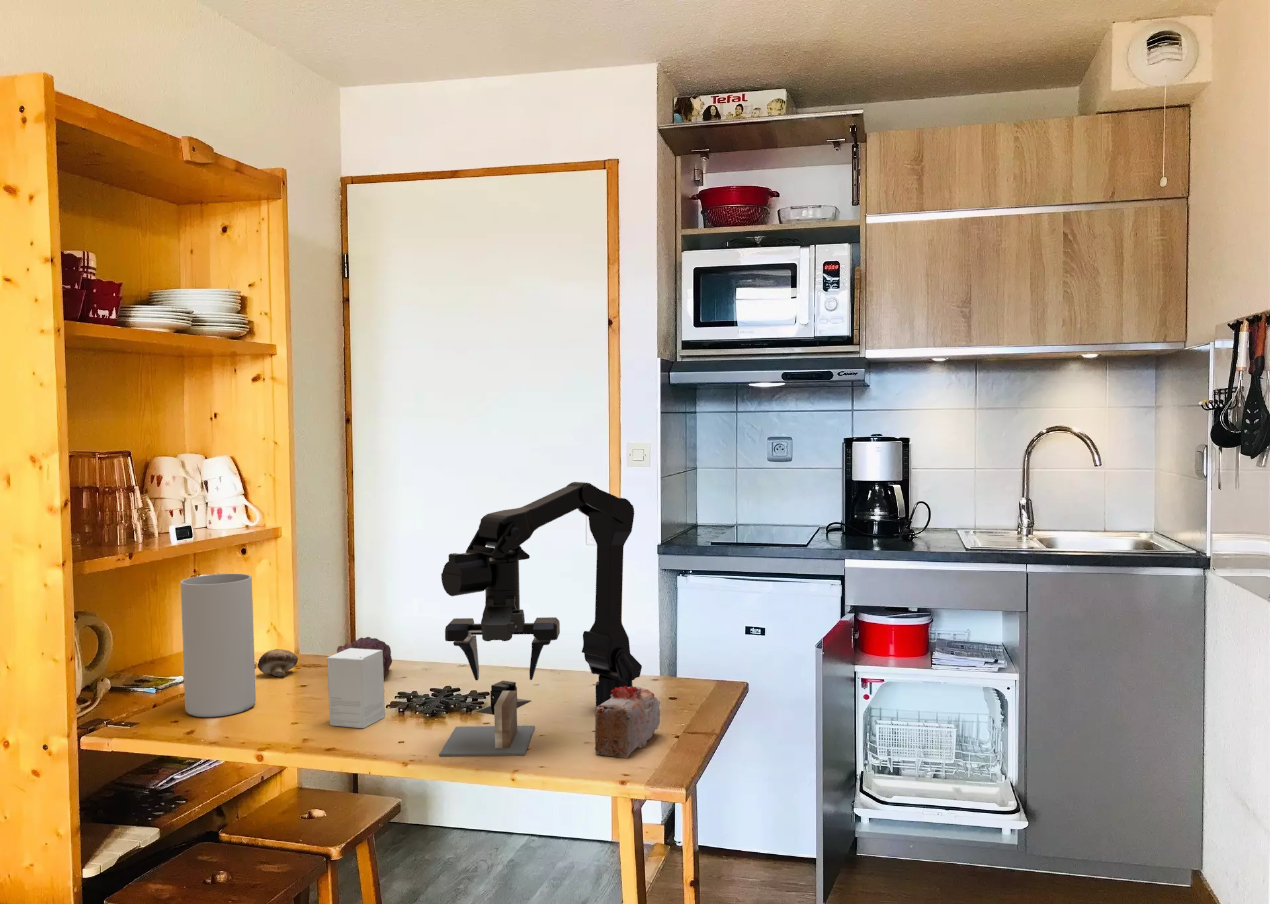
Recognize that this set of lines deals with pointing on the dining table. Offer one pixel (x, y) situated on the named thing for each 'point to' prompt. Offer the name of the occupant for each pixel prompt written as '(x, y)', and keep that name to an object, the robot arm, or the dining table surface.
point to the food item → (626, 721)
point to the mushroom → (277, 662)
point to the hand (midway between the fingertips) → (504, 679)
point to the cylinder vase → (218, 644)
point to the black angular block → (496, 693)
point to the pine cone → (373, 645)
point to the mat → (485, 742)
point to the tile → (505, 719)
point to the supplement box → (356, 687)
